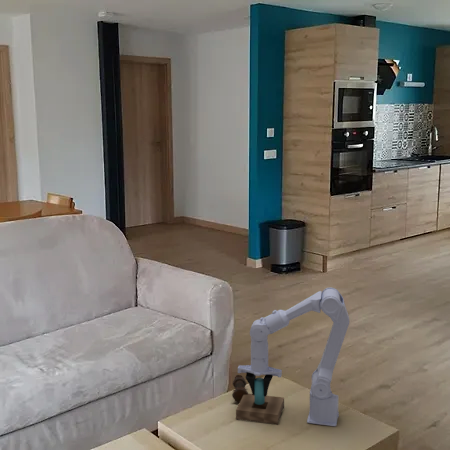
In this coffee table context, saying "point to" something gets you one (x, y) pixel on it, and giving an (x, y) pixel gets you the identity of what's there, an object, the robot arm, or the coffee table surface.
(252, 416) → the bore block
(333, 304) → the robot arm
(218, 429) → the coffee table surface
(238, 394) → the bolt
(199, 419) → the coffee table surface
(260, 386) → the pin
